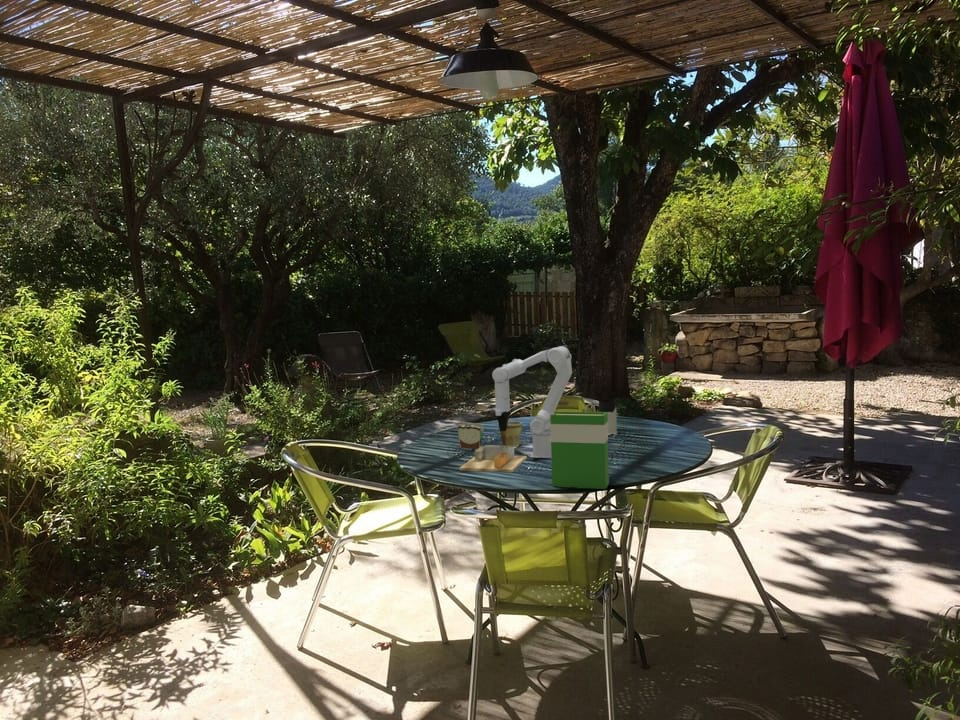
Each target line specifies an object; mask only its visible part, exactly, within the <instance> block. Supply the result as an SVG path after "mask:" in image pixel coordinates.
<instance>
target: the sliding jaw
mask: <svg viewBox="0 0 960 720" xmlns="http://www.w3.org/2000/svg"><path fill="white" fill-rule="evenodd" d="M514 456H515V448H514V447H507V448H506V449H505V450H503V451H502V452H501V453H500V454H498V455H497V456H496V457H495V458H494V468H501V467H502V466H503V465H505V464H506V463H507V462H508V461H509V460H510V459H511V458H513V457H514Z"/></svg>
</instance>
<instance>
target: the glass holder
mask: <svg viewBox="0 0 960 720" xmlns="http://www.w3.org/2000/svg"><path fill="white" fill-rule="evenodd" d="M588 406H592V407H593V409H594V412H597V411H596V406H595V405H594V404H592V403H591V404H590V403H589V404H587V405H586V406H585V408H584V412H587V407H588ZM598 412H608V435H610V434H616V433H618V432H617V430H618V429H617V428H618V427H617V421H618V420H617V400H614V399H600V400H598Z"/></svg>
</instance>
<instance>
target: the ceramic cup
mask: <svg viewBox="0 0 960 720" xmlns="http://www.w3.org/2000/svg"><path fill="white" fill-rule="evenodd" d="M498 429H499V433H500V438H501V443H502V444H501V445H506V448H507V447H516V448H519V446H520V442H521V441H520V440H521V433H522V430H523V422H522V421H519V420H518V421H516V420H510V421H509V420H508V424H507V430H506V431H500V427H499V426H498Z"/></svg>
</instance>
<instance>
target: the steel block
mask: <svg viewBox="0 0 960 720" xmlns="http://www.w3.org/2000/svg"><path fill="white" fill-rule="evenodd" d="M483 446H484V447H483V460H494V458H495V457H496V456H497V455H498V454H500V453H501V452H502V451H503V450H505V449H506V445H503V444H501V445H500V444H497V445H496V444H485V445H483Z"/></svg>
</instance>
